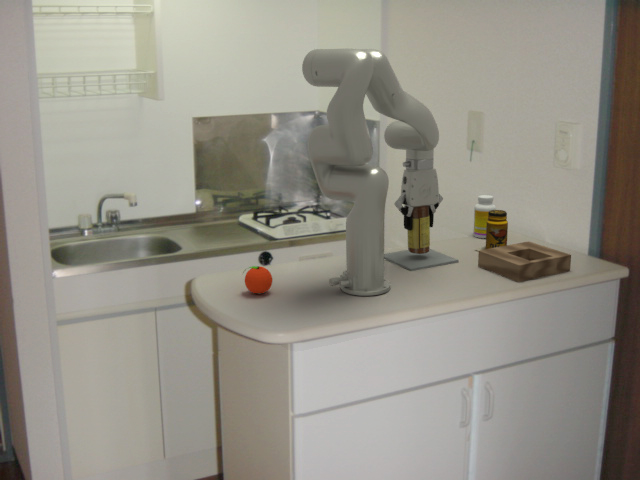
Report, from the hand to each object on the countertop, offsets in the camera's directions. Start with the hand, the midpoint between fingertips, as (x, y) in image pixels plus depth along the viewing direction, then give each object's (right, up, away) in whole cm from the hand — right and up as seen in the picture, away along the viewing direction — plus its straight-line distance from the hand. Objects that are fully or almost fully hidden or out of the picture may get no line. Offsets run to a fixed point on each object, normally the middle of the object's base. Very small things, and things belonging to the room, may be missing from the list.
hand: (418, 227), depth 211 cm
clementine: (-43, -17, -23) cm, 52 cm away
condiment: (+23, -7, +10) cm, 26 cm away
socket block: (+27, -11, -8) cm, 31 cm away
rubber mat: (0, -9, +3) cm, 10 cm away
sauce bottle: (0, -7, +2) cm, 7 cm away
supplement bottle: (+24, -3, +25) cm, 35 cm away
